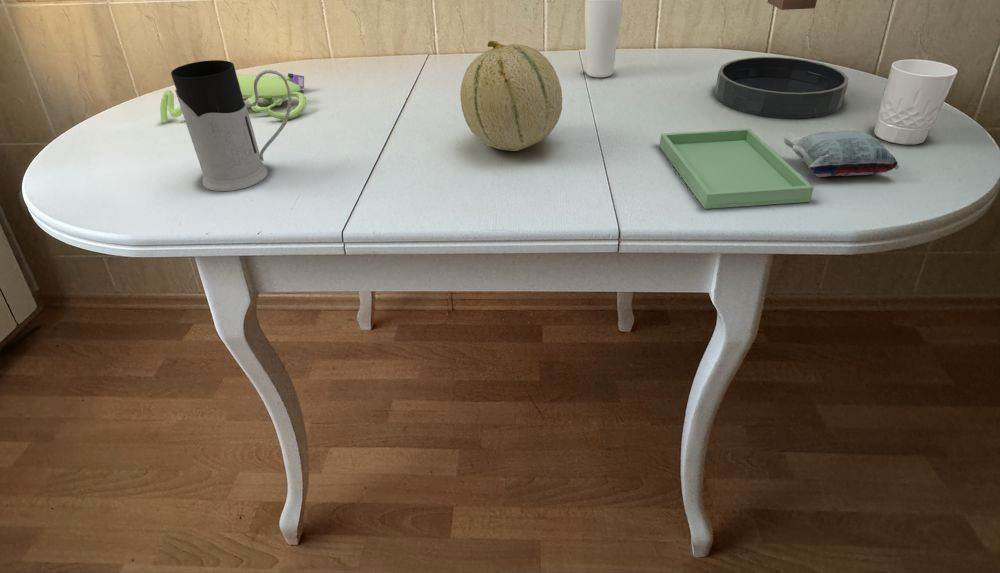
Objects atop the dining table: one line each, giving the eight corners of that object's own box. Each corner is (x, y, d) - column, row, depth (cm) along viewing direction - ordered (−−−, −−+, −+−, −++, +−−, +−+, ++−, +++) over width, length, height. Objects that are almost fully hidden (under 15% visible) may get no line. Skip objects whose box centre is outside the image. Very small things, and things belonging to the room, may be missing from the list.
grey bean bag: (779, 156, 87) (788, 122, 84) (864, 154, 87) (876, 120, 84) (804, 185, 80) (815, 149, 77) (897, 182, 80) (911, 147, 77)
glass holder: (202, 170, 89) (167, 64, 81) (303, 153, 93) (279, 50, 85) (202, 196, 83) (163, 83, 74) (310, 176, 87) (285, 67, 78)
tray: (659, 146, 91) (661, 133, 90) (746, 141, 92) (749, 128, 91) (704, 209, 76) (707, 194, 75) (809, 202, 76) (814, 187, 75)
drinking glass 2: (574, 74, 120) (577, -10, 111) (597, 66, 124) (601, -16, 115) (601, 82, 116) (607, -5, 107) (624, 73, 120) (631, -11, 111)
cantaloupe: (555, 169, 86) (558, 58, 77) (453, 164, 88) (444, 56, 80) (566, 129, 98) (569, 29, 89) (475, 126, 100) (469, 28, 91)
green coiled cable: (194, 88, 121) (185, 59, 117) (329, 86, 119) (323, 56, 116) (145, 123, 106) (133, 91, 102) (298, 122, 104) (291, 89, 101)
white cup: (904, 150, 88) (930, 79, 82) (857, 132, 93) (879, 64, 88) (942, 140, 90) (971, 70, 84) (894, 122, 96) (918, 56, 90)
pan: (805, 76, 115) (811, 54, 113) (866, 114, 99) (874, 89, 97) (698, 82, 114) (702, 60, 112) (742, 122, 98) (747, 97, 96)
